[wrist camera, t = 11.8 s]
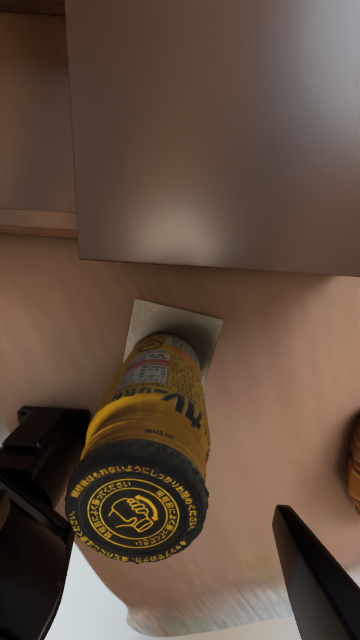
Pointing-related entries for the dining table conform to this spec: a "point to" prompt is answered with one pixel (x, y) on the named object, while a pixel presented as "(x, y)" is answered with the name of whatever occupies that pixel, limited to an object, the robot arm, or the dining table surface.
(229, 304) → the dining table surface
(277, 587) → the dining table surface
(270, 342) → the dining table surface
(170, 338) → the condiment
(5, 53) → the drawer
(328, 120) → the cabinet
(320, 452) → the dining table surface
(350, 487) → the croissant
